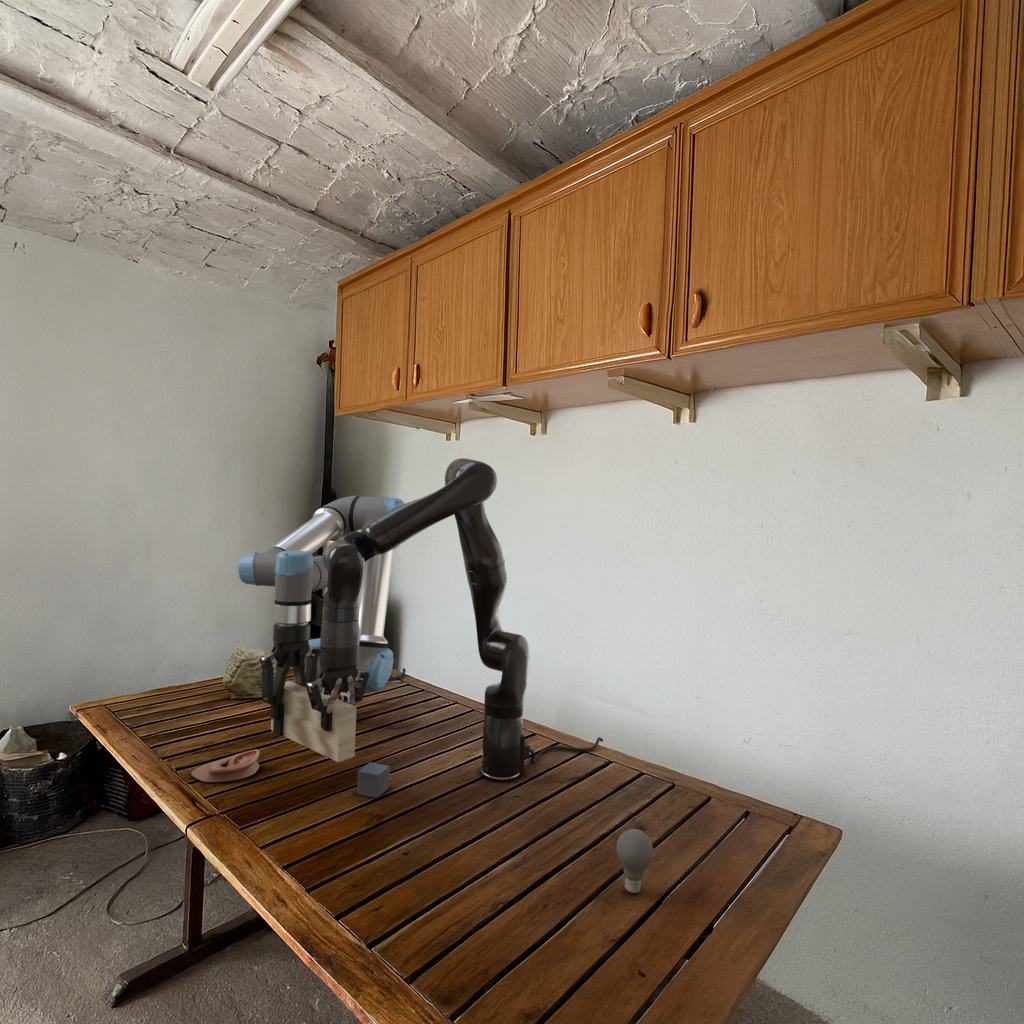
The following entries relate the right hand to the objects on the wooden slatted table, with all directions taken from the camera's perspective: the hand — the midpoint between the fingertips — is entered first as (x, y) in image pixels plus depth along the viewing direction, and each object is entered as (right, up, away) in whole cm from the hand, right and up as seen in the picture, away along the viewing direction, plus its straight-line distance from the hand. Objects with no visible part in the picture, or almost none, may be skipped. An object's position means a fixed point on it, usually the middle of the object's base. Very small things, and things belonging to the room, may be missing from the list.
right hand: (336, 727), depth 126 cm
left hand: (-13, -4, +11) cm, 18 cm away
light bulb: (+55, -21, -20) cm, 62 cm away
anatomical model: (-30, -16, +17) cm, 38 cm away
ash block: (-7, -5, +5) cm, 10 cm away
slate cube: (+5, -18, +11) cm, 22 cm away
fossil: (-46, -14, +72) cm, 86 cm away
